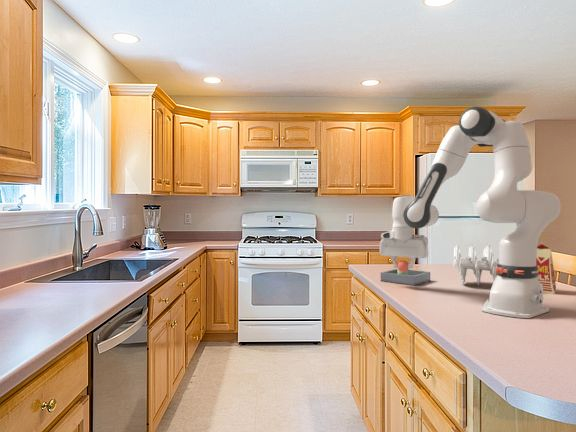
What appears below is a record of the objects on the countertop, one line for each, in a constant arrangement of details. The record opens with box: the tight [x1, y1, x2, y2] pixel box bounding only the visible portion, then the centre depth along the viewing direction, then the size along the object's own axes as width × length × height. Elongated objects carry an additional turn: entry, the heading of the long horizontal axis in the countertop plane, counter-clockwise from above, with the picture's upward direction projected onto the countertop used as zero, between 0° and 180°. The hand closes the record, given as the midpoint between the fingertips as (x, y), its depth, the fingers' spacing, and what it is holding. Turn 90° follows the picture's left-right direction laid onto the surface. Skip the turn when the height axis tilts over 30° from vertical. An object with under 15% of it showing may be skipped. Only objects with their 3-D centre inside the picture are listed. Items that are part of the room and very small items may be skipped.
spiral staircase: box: [453, 243, 499, 287], centre depth 176 cm, size 18×18×25 cm
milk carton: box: [536, 240, 557, 295], centre depth 165 cm, size 9×9×20 cm
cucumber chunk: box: [397, 270, 408, 275], centre depth 189 cm, size 4×4×5 cm
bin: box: [380, 268, 431, 287], centre depth 187 cm, size 16×16×4 cm
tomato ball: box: [396, 260, 410, 272], centre depth 172 cm, size 5×5×5 cm
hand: (403, 267), depth 172 cm, fingers closed on tomato ball, 5 cm apart
